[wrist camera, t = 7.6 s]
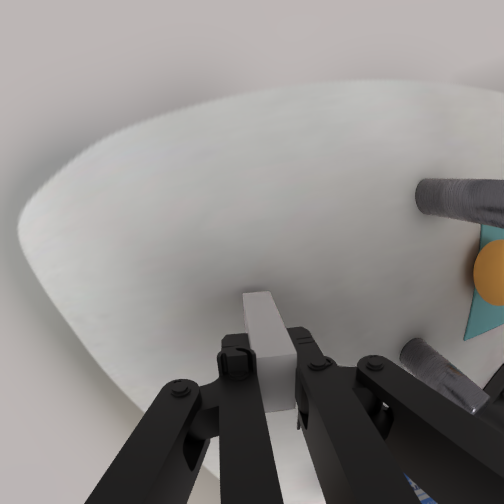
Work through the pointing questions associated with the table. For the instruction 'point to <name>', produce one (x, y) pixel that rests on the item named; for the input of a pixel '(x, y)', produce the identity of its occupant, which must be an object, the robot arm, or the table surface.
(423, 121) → the table surface
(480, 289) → the ball
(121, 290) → the table surface
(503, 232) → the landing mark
